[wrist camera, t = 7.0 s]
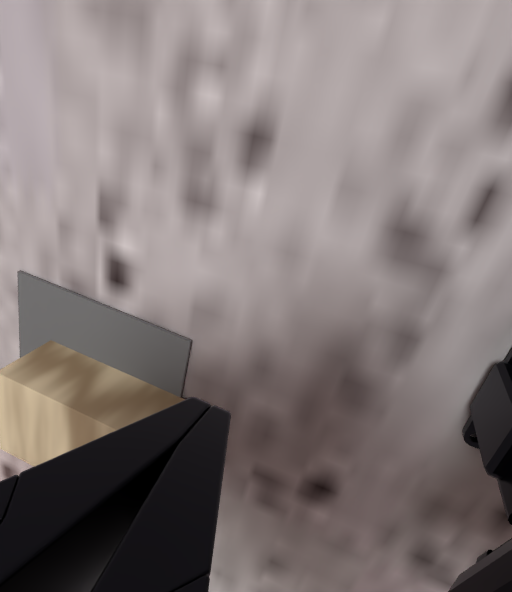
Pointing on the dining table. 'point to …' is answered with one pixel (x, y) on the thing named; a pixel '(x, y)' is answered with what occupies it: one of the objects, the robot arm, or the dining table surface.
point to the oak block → (68, 402)
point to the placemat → (100, 334)
